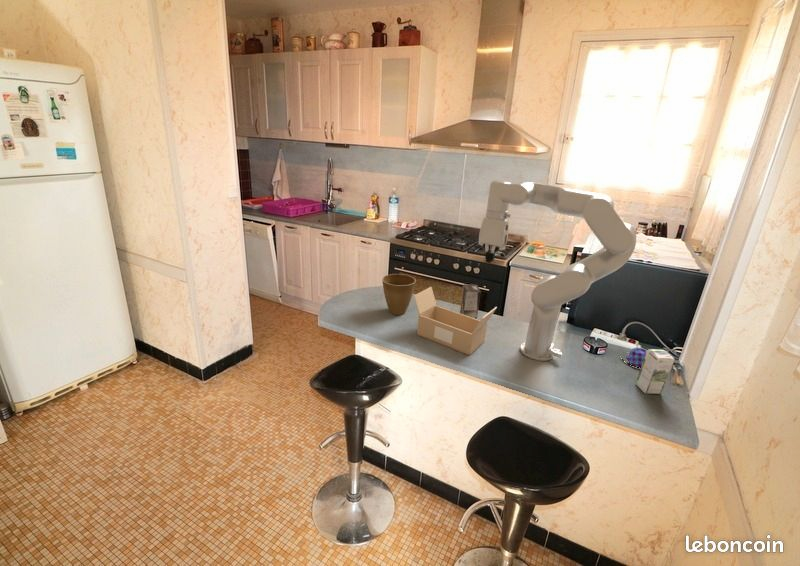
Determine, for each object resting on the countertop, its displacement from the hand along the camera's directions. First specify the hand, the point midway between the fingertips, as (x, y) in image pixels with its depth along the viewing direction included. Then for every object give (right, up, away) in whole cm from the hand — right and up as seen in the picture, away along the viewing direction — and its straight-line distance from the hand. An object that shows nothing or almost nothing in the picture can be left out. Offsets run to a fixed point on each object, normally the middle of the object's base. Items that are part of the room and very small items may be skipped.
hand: (489, 261), depth 152 cm
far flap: (-24, -15, +9) cm, 30 cm away
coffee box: (-5, -26, +23) cm, 34 cm away
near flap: (-3, -22, -5) cm, 23 cm away
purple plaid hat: (+57, -39, -1) cm, 69 cm away
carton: (-14, -31, +7) cm, 35 cm away
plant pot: (-36, -22, +27) cm, 50 cm away
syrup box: (+51, -45, -18) cm, 70 cm away
